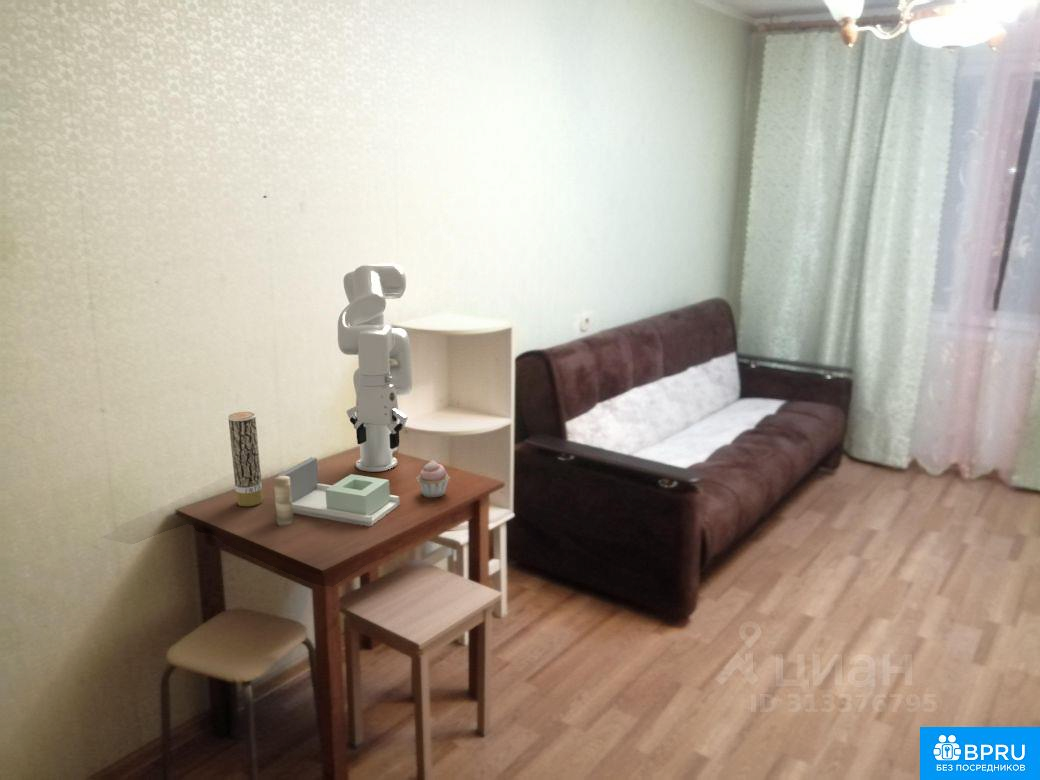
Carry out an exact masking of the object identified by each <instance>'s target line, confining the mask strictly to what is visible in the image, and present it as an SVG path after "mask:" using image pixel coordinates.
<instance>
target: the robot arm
mask: <svg viewBox="0 0 1040 780" xmlns="http://www.w3.org/2000/svg"><path fill="white" fill-rule="evenodd" d="M343 288H344V292H345V296H346V298H347V301H348V303H349V304H348V305H346V307H344V309H343V310H342V311H341V313H340V315H339V317H338V319H337V343H338V344H337V345H338V348H339V350H340V351H341V353H342V354H344V355H347V356H358V359H357V360H358V368H356V369H355V371H354V372H353V375H352V376H353V377H352V379H353V387H354V391H355V396H356V397H355V400H356V401H355V406H353V407H351V408H350V409H347V410H346V414H347V416H348V419H349V421H350V423H351V424H352V425H353V429H355V431H356V442H357V445H359V450H360V451H359V452H360V453H359V454H360V458H359V459H358V460H356V462H355V467H356V469H358V470H360V471H363V472H368V473H369V472H371V473H374V472H375V473H376V472H384V471H389V470H391V468H392V469H393V467H394V468H395V467H396V466H397V465H398V459H397V458H396V457H394V456H393V454H394V452H396V451H398V447H399V445H400V432H401V431H402V430H403V428H404V427H406V426H405V425H406V423H407V420H408V419H409V418H408V416H407V415H406V414H404V413H403V412H402V411H400V410H399V405H398V399H397V396H399V397H400V396H406V395H409V394H410V393H411V391H412V389H413V370H412V369H413V368H412V367H413V366H412V354H411V353H412V351H411V349H412V348H411V341H410V336H409V334H408V332H407V331H406V330H405V329H403V328H392V327H391V326H389V325H387V324H384V323H385V322H384V321H385V320H384V319H385V318H384V312H385V310H386V307H387V303H386V300H390V299H391V300H392V299H394V300H395V299H400V298H402V297H403V295H404V293H405V291H406V288H407V278H406V273H405V271H404V269H403V267H402V266H400V265H399V264H395V263H378V264H377V263H375V264H374V263H373V264H363V265H360V266H359V267H356V269H355V270H353V271H349V272H347V273H346V274H345V275H344V277H343ZM390 361H394V362H395V363H396V364H390ZM388 469H389V470H388Z"/></svg>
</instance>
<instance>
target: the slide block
mask: <svg viewBox="0 0 1040 780" xmlns="http://www.w3.org/2000/svg"><path fill="white" fill-rule="evenodd" d="M325 491H326V505H327V508H328V509H333V510H339V511H345V512H351V513H356V514H362V515H368V516H370V515H371V514H372V513H374V512H375V511H376V510H378V509H379V508H381V507H382V506H383V505H385V504H386V503H388V502H389V501H390V495H391V490H390V479H384V478H378V477H371V476H364V475H360V474H353V473H350V474H349V475H347V476H345V477H344V478H342V479H341V480H339V481H337V482H336V483H334V484H333V485H332V486H331V487H329V488H327V489H326V490H325Z"/></svg>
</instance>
